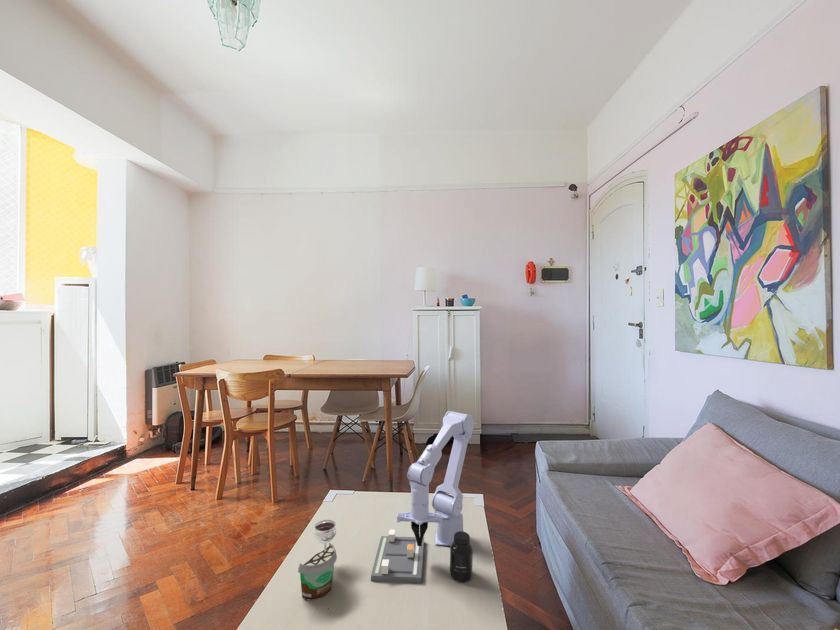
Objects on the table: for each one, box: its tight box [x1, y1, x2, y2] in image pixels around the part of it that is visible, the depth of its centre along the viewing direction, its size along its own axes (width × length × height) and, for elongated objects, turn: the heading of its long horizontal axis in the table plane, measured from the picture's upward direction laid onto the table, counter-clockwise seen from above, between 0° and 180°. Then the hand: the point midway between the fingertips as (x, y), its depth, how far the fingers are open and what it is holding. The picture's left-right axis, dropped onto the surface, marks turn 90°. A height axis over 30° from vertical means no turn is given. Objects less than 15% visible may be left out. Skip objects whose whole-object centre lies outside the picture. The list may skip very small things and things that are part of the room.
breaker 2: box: [387, 529, 396, 542], centre depth 128 cm, size 2×3×2 cm, turn 177°
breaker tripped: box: [407, 544, 414, 558], centre depth 120 cm, size 2×3×2 cm, turn 177°
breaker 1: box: [381, 559, 389, 574], centre depth 112 cm, size 2×3×2 cm, turn 177°
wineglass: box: [313, 519, 337, 550], centre depth 118 cm, size 7×7×12 cm
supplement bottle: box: [449, 531, 474, 583], centre depth 113 cm, size 7×7×12 cm
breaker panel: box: [370, 535, 425, 584], centre depth 120 cm, size 15×20×2 cm
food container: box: [297, 542, 338, 601], centre depth 106 cm, size 12×6×10 cm, turn 148°
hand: (419, 544), depth 120 cm, fingers closed
